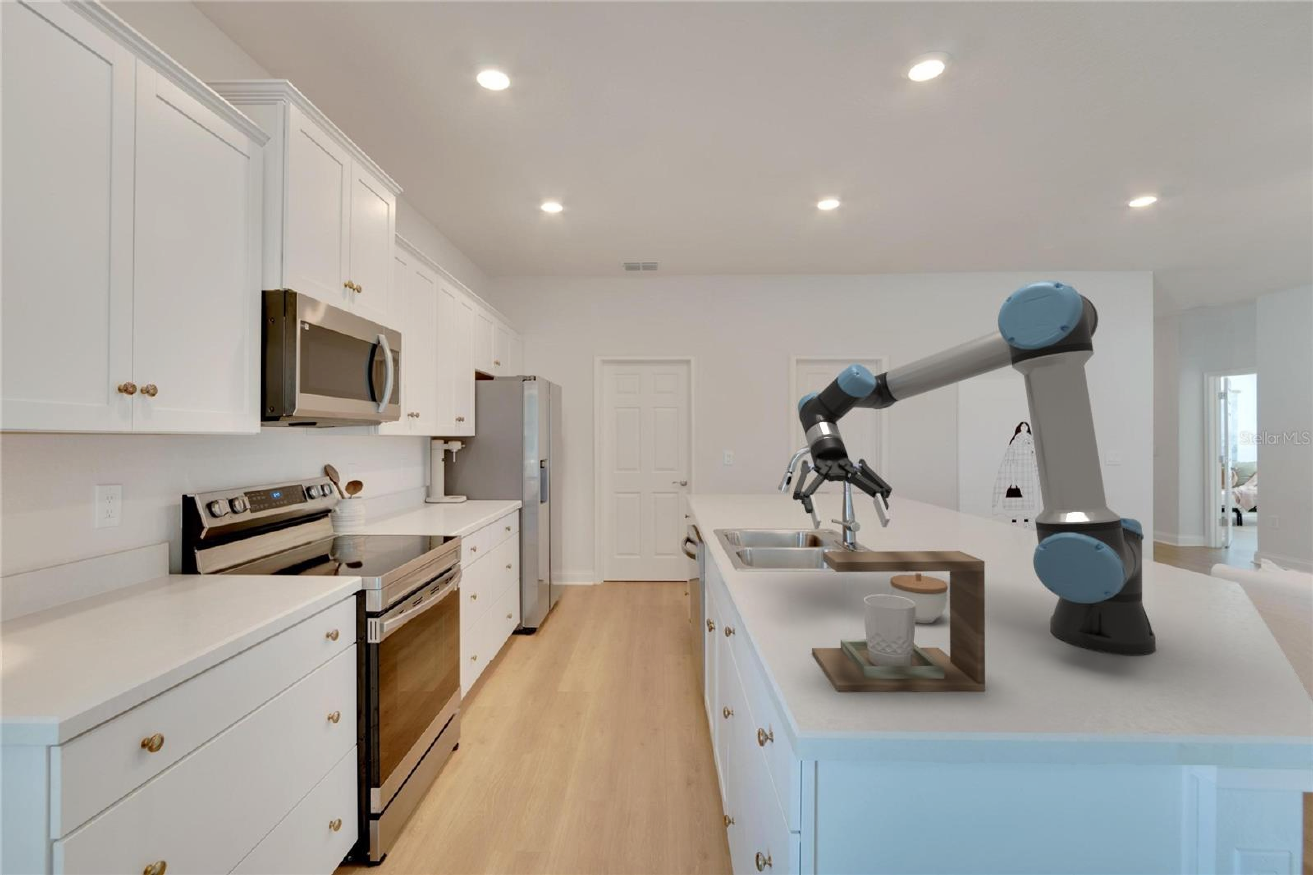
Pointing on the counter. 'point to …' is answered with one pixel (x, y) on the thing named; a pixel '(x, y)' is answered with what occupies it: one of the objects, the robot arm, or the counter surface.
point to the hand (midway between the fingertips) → (852, 524)
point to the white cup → (889, 630)
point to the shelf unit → (929, 664)
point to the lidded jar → (922, 595)
